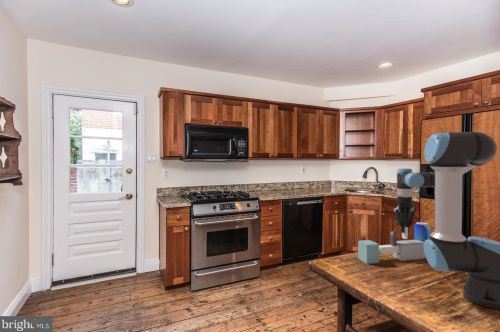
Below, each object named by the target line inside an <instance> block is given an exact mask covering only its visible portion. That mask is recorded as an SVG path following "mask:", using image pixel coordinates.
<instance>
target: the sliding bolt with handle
mask: <svg viewBox="0 0 500 332" xmlns="http://www.w3.org/2000/svg"><path fill="white" fill-rule="evenodd" d="M397 233H398V232H397V231H396V230H395V231H394V230H390V244H383V245H380V244H379V255H388V254H393V253H400V245H398V244H397V241H398V240H397V239H398V238H397V237H398V236H397V235H398V234H397Z"/></svg>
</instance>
